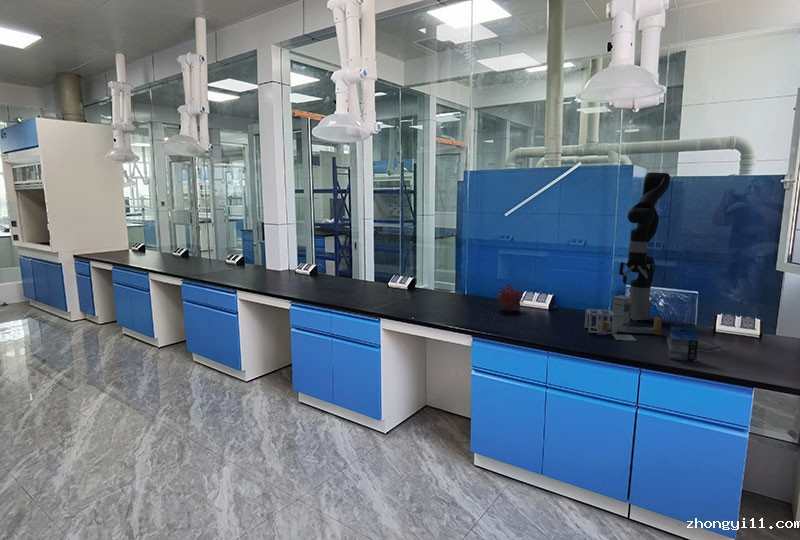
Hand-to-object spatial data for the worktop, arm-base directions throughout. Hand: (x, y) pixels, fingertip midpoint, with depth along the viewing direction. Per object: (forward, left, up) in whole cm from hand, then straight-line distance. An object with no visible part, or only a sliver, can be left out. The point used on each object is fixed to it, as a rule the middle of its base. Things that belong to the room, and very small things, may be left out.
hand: (635, 284), depth 214 cm
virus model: (+56, -24, -22) cm, 65 cm away
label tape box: (-7, +42, -22) cm, 48 cm away
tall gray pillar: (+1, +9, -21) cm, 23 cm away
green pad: (+8, +18, -21) cm, 29 cm away
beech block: (+14, +8, -22) cm, 27 cm away
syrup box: (+3, -6, -22) cm, 23 cm away
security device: (-20, +22, -22) cm, 37 cm away
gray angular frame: (+16, +8, -21) cm, 28 cm away
